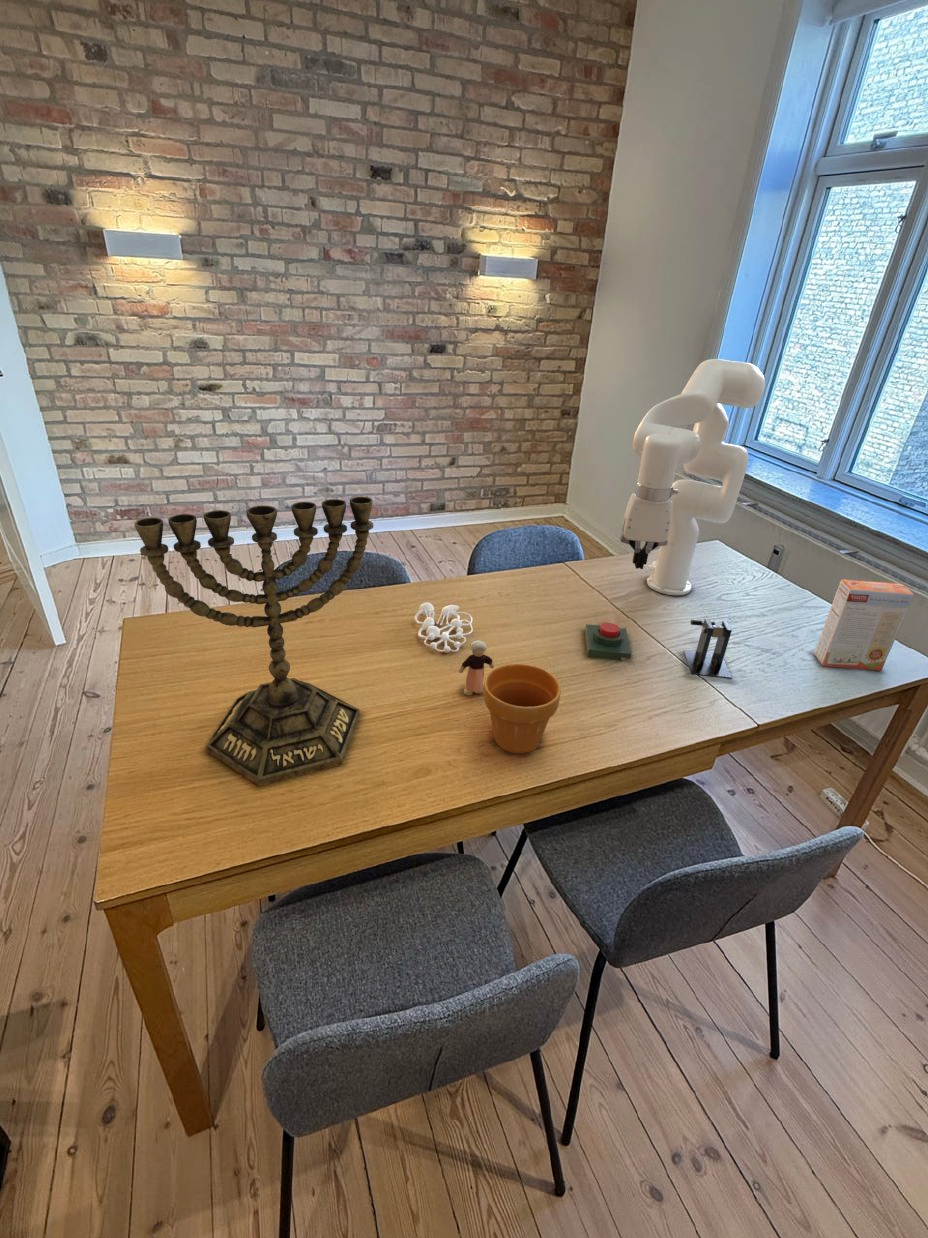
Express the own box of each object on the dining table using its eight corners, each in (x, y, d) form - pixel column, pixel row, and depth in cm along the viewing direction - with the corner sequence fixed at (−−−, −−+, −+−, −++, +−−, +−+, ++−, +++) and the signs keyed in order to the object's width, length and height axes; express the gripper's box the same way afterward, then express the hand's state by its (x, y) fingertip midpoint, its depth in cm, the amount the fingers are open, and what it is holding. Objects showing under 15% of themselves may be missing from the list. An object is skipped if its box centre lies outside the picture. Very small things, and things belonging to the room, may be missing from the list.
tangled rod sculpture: (474, 659, 150) (477, 645, 148) (413, 654, 149) (414, 640, 147) (470, 617, 167) (472, 603, 165) (414, 611, 165) (416, 598, 163)
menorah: (191, 804, 106) (135, 556, 84) (180, 716, 126) (132, 495, 104) (398, 749, 120) (397, 524, 98) (359, 677, 140) (351, 476, 118)
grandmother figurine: (464, 700, 135) (467, 649, 129) (455, 690, 138) (458, 640, 131) (495, 691, 138) (500, 641, 132) (486, 682, 141) (490, 632, 135)
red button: (598, 627, 157) (599, 621, 156) (617, 629, 157) (618, 623, 156) (600, 637, 153) (601, 631, 152) (619, 639, 153) (620, 633, 152)
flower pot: (468, 724, 128) (472, 670, 121) (530, 709, 133) (537, 657, 127) (499, 771, 117) (505, 715, 110) (566, 753, 122) (575, 698, 115)
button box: (584, 631, 162) (587, 618, 160) (624, 635, 162) (627, 621, 160) (587, 657, 152) (589, 642, 150) (629, 661, 151) (632, 647, 149)
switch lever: (689, 626, 157) (691, 616, 157) (712, 628, 157) (714, 619, 156) (704, 636, 144) (706, 626, 144) (729, 638, 144) (731, 628, 144)
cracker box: (870, 658, 158) (903, 582, 147) (881, 672, 152) (917, 594, 142) (812, 653, 158) (840, 577, 148) (821, 666, 153) (851, 589, 143)
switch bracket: (682, 654, 155) (693, 611, 149) (720, 658, 154) (733, 615, 149) (690, 677, 146) (702, 633, 141) (730, 682, 146) (744, 637, 140)
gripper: (684, 488, 144) (668, 562, 154) (617, 483, 146) (605, 557, 155) (690, 500, 138) (673, 576, 147) (620, 495, 139) (607, 570, 149)
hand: (638, 566), depth 151 cm, fingers closed
